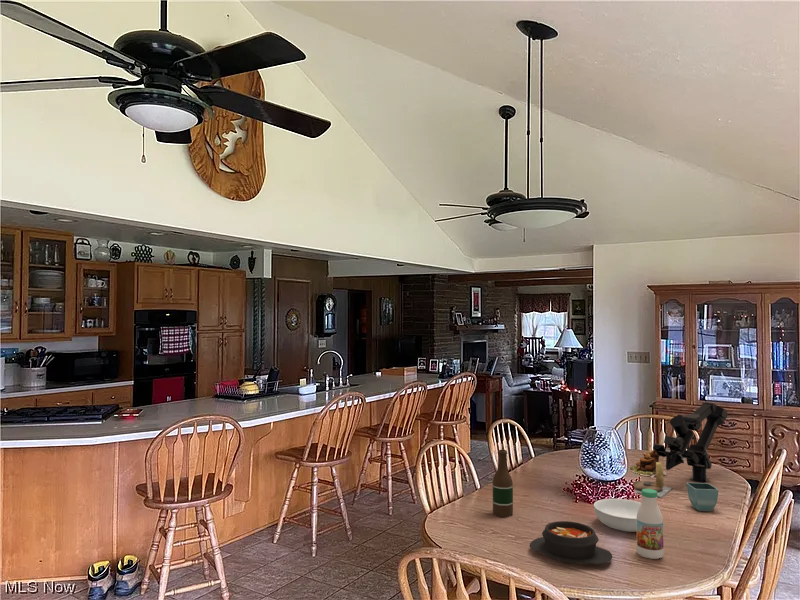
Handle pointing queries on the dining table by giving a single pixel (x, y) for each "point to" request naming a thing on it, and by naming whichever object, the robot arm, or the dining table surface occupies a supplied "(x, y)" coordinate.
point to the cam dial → (652, 485)
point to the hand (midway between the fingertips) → (666, 469)
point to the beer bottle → (502, 488)
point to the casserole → (570, 543)
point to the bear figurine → (647, 465)
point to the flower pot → (702, 496)
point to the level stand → (659, 494)
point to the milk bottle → (649, 526)
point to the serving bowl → (618, 513)
